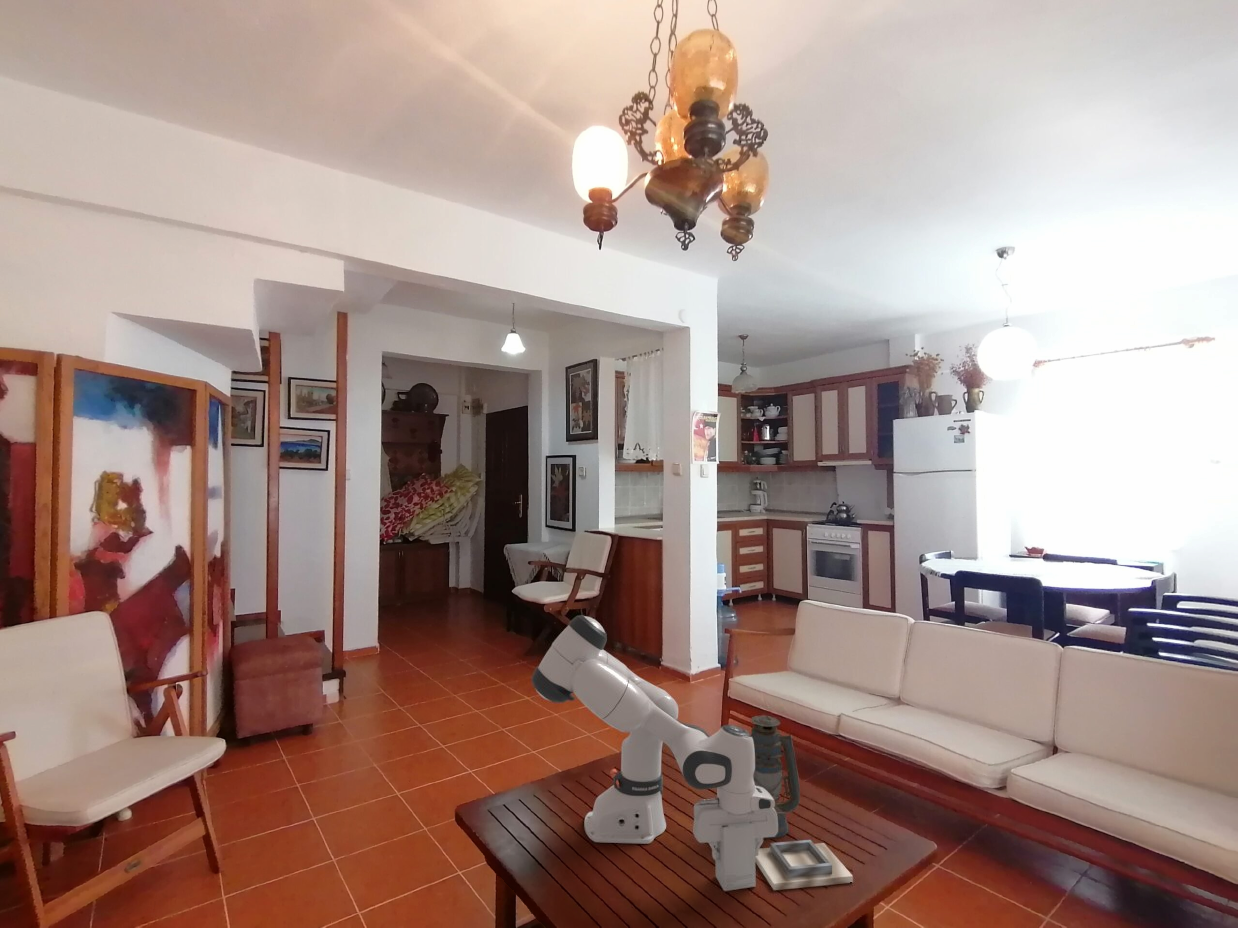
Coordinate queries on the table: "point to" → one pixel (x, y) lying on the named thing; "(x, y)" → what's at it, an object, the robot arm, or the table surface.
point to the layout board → (801, 865)
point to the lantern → (775, 767)
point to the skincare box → (736, 856)
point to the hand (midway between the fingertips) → (735, 856)
